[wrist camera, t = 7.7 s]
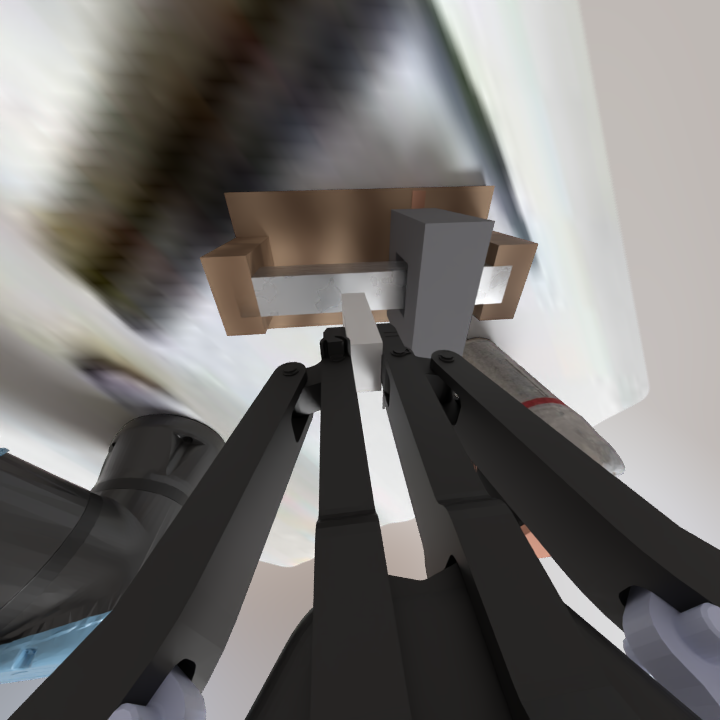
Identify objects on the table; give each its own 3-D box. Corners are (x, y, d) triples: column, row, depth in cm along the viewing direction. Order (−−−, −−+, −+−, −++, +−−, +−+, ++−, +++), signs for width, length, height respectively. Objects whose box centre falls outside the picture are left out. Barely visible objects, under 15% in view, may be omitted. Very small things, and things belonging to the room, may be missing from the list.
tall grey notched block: (386, 315, 28) (409, 369, 20) (391, 209, 23) (425, 223, 14) (422, 313, 28) (460, 365, 20) (435, 208, 23) (494, 221, 15)
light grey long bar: (252, 305, 23) (241, 322, 20) (241, 263, 21) (226, 275, 18) (481, 292, 24) (502, 307, 21) (491, 252, 22) (516, 262, 19)
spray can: (453, 330, 34) (571, 470, 17) (509, 336, 35) (669, 471, 19) (433, 381, 38) (511, 530, 22) (483, 384, 40) (593, 528, 23)
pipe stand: (262, 323, 31) (239, 371, 23) (229, 192, 23) (178, 196, 15) (459, 311, 32) (501, 352, 24) (486, 185, 25) (558, 186, 17)
